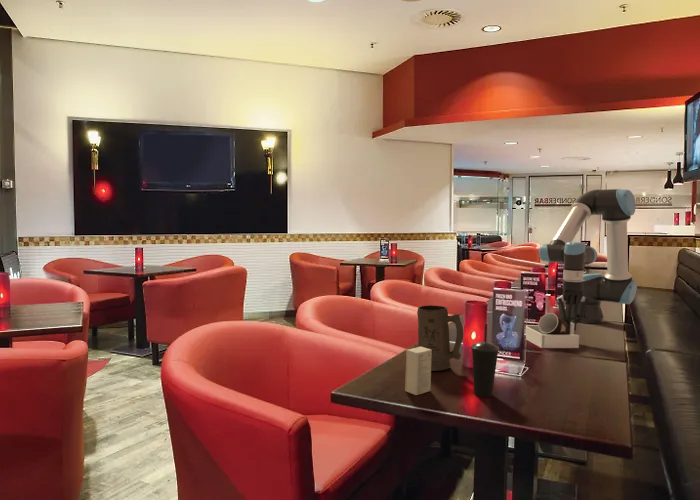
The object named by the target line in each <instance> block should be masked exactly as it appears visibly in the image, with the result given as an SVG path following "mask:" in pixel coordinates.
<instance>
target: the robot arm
mask: <svg viewBox="0 0 700 500" xmlns="http://www.w3.org/2000/svg"><path fill="white" fill-rule="evenodd" d="M636 206H637V204H636V199H635V196H634V194H633V192H632V191H631V190H630V189H621V188H614V189H613V188H611V189H592V190H589V191H587V192H585V193H583V194H582V195H579V196H578V197H577V198H576V199H575V200H574V201H573V202H572V204H571V205H570V206H569V213H568V215H566V218H565V219H564V220H563V222H562V223H561V225H560V226H559V228H558V230H557V231H556V233H555V234H554V236H553V238H552V239H551V241H550V242H549V244H548V243H543V244H541V245H540V247H539V249H538V250H539V251H538V256H539V259H540V261H543V262H549V263H557V264H558V263H561V264H563V274H562V279H563V281H562V292H561V295H560V296H557V297H555V300H556V302H557V305H558V310H559V318H560V320H561V321H562V322H564V324H565V325H566V326H567V327H568V328H569V329H570V335H575V331H576V330H577V324H578V323H583V324H584V323H585V324H603V323H604V320H605V318H604V314H603V311H602V310H603V309H602V307H601V302H606V303H611V304H612V303H613V304H619V305H621V304H622V305H630V304H631V303H632V302H633V301H634V299H635V297H636V293H637V289H638V282H637V280H635V279H633V275H632V274H631V273H630V272H629V257H628V256H629V255H628V254H629V253H628V246H629V245H628V222H629V221H630V220H631V218H632V216H634V215H635V212H636ZM595 215H596V216H601V220H602V221H603V222H604V223H605V233H606V235H605V236H606V260H607V261H606V262H607V263H606V264H607V267H606V268H607V271H606V272H605V274H604V275H603V274H602V273H584V272H585V265H587V266H588V265H590V264H591V265H592V264H593V263H594V262H596V260H597V258H598V252H597V250H596V249H595V248H594V247H592V246H590V245H585V242H580V241H579V242H577V241H574V240H575V238H576V236H577V234H578V233H579V232H580V230H581V227H582V226H583V224H584V223H585V222H586V220H588V219H590V218H591V216H595ZM564 302H565V303H564Z"/></svg>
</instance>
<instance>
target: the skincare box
mask: <svg viewBox="0 0 700 500" xmlns="http://www.w3.org/2000/svg"><path fill="white" fill-rule="evenodd" d="M431 355H432V350H431V349H428V348H425V347H421V346H420V347H418V346H417V347H413V348H407V349H406V352H405V381H404V383H405V386H404V390H405V392H407V393H408V394H412V395H414V396H417V395H422V394H424V393H428V392H431V384H432V383H431V381H432V379H431V378H432V371H431Z"/></svg>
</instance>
